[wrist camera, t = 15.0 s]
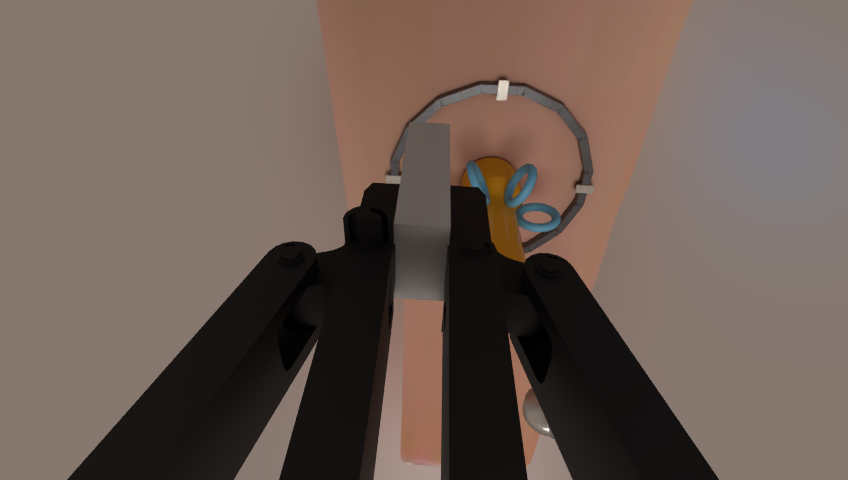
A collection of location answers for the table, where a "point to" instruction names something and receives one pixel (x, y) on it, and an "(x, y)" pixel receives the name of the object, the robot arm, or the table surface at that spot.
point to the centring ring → (502, 91)
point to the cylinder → (507, 202)
